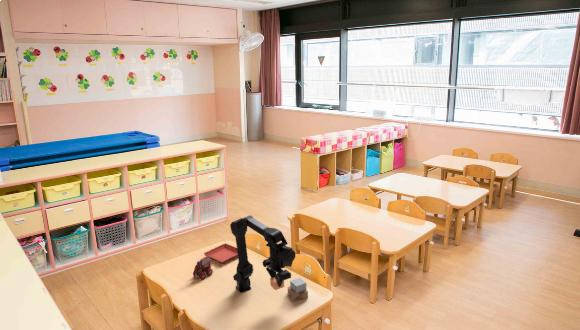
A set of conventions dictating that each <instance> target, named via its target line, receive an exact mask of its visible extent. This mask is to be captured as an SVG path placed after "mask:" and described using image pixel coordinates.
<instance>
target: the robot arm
mask: <svg viewBox="0 0 580 330" xmlns="http://www.w3.org/2000/svg"><path fill="white" fill-rule="evenodd" d="M229 226H230V227H229V228H230V231H231V234H232V235H233V236H234V237H235V245H236V248H237V253H238V257H237V260H238V263H237V265H236V273H234V275H233V280H234V281H236V282H235V283H236V286H235V288H236V290H237V291H238V292H239V293H244V292H246V291H250V290H252V287H251V278H250V277H252V275H253V273H254V267H253V266H254V264H252V263H251V262H250V261H249V257H248V250H247V241H246V234H247V231H248V228H250V229H251V230H253V231H255V233H258V234H259V235H261V236H262V237H263V238H264V240H265V242H266V244H265V246H266V247H268V248H269V257H268V258H266V259H264V260H262V266H263V267H264V268H265V270H266V271H267V273H268V275H269V277H270V278H273V277H275V279H276V282H277V284H278V286H279V287H281V285H282V282H283V281H284V282H285V281H287V280H290V279H291V278H292V273H291V272H290V271H289V270H287V269H286V267H289V268H292V265H293V262H294V261H295V259H296V255H297V254H296V252H295V250H293V248H292V247H290V246H286V245H288V242H287V239H286V238H285V236H284V234H283V232H282V231H281V230H280V229H277V228H274V227H269V226H268V225H265V224H264V223H262V222H261V221H259V220H257V219H256V218H254V216H253V215H247V216H245V217H243V218H238V219H236V220H234V221H232V222H231V223H230V225H229Z"/></svg>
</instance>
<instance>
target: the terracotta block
mask: <svg viewBox="0 0 580 330" xmlns="http://www.w3.org/2000/svg"><path fill="white" fill-rule="evenodd" d="M269 283H270V285H269V286H271V288H272V289H273V290H275V291H277V290H279V289H283V288H284V287H285V280H284V281H283V282H282V285H281V287H279V286H278V284H277V282H276V279H275V277H273V278H271V277H270V279H269Z"/></svg>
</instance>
